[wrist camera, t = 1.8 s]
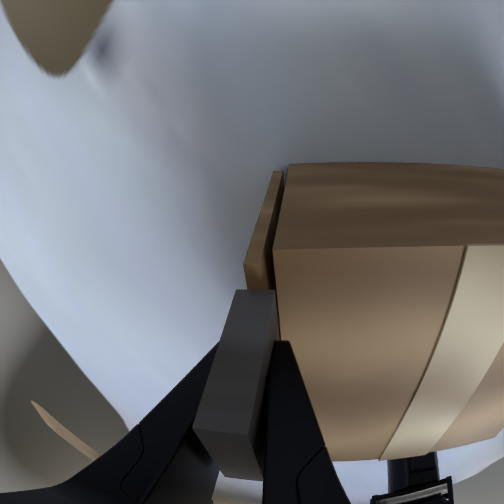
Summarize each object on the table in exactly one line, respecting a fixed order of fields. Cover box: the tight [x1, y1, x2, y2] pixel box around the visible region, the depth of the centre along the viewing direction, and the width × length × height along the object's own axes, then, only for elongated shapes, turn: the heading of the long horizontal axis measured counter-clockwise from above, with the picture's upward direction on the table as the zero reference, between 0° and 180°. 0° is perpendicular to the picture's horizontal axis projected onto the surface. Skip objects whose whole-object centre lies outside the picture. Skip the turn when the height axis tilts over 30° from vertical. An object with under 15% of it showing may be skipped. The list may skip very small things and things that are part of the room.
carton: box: [273, 162, 504, 461], centre depth 13 cm, size 14×13×8 cm
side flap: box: [192, 171, 284, 481], centre depth 13 cm, size 14×1×12 cm, turn 7°
